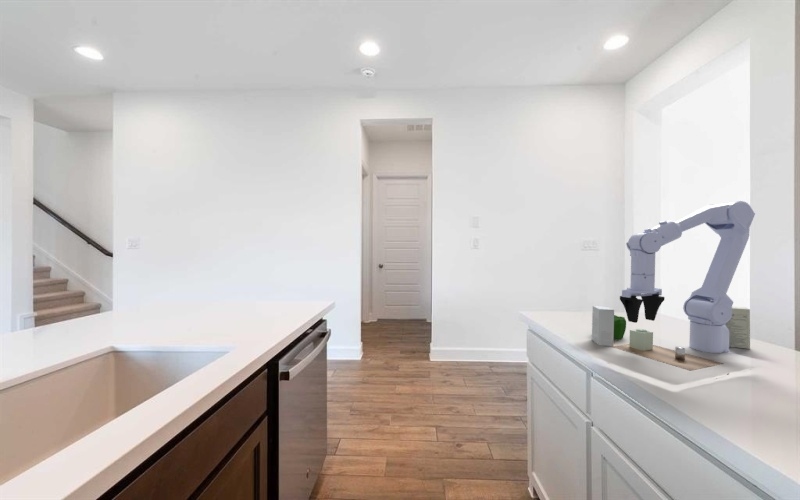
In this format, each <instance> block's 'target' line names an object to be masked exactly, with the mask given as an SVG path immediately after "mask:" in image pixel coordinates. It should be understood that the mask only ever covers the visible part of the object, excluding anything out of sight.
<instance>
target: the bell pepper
mask: <svg viewBox="0 0 800 500" xmlns="http://www.w3.org/2000/svg"><path fill="white" fill-rule="evenodd" d="M626 330H627V320H626V317H624V316H618V315H616V314H614V340H622V339H623V338H624V336H625V333H626Z"/></svg>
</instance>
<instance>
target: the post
mask: <svg viewBox="0 0 800 500" xmlns="http://www.w3.org/2000/svg"><path fill="white" fill-rule="evenodd" d="M674 350H675V359H678V360H685V353H686V348H685V347H684V346H683V347H682V346H675V349H674Z"/></svg>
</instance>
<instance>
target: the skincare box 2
mask: <svg viewBox="0 0 800 500" xmlns="http://www.w3.org/2000/svg"><path fill="white" fill-rule="evenodd" d="M750 319H751V309H750V308H747V307H744V306H732V316H731V319H730V320H729V321H728V322H727V323H726V325H725V326H726V327H727V328H728V330H729V348H730V347H731V348H739V349H747V350H748V349H751V320H750Z"/></svg>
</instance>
